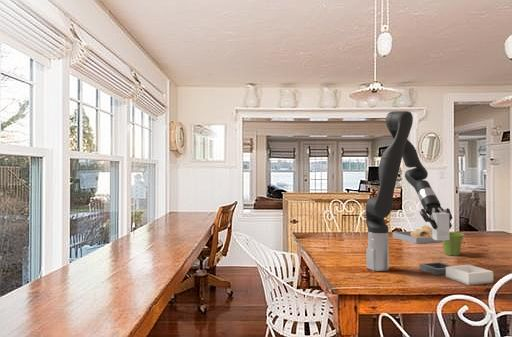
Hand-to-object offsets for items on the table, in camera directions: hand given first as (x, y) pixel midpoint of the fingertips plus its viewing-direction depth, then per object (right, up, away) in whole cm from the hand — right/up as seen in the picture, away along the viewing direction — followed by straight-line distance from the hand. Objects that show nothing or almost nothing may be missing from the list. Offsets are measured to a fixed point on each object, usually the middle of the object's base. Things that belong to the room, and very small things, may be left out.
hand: (443, 228), depth 180 cm
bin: (+5, -20, -12) cm, 24 cm away
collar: (-1, -20, +3) cm, 20 cm away
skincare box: (0, -6, +2) cm, 6 cm away
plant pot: (+22, -20, +38) cm, 49 cm away
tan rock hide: (+26, -20, +81) cm, 88 cm away
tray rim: (+24, -20, +85) cm, 91 cm away
